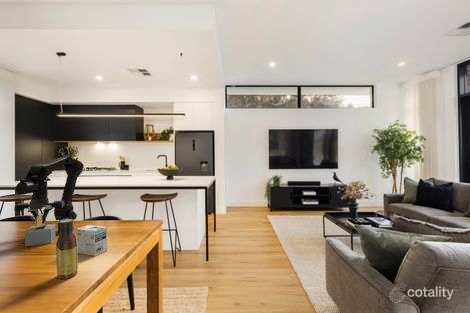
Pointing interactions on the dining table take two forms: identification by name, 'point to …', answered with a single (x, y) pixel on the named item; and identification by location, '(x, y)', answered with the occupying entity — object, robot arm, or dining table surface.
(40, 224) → the block
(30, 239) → the coin box
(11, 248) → the dining table surface
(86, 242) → the light bulb box
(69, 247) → the sauce bottle
